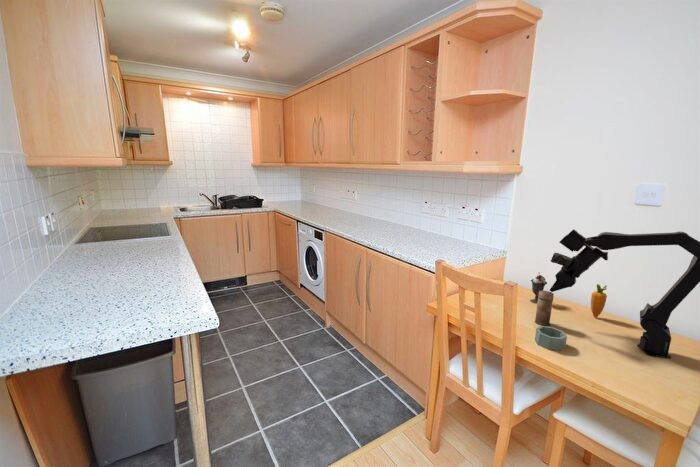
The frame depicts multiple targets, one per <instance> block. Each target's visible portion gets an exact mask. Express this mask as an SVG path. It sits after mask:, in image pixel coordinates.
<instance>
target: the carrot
mask: <svg viewBox="0 0 700 467" xmlns="http://www.w3.org/2000/svg"><path fill="white" fill-rule="evenodd" d="M607 287H608V285H604V286H603V287H602V288H601V285H600V284H599V283H596V290H594V291H592V292H591V298H590V309H591V313H592V316H593V317H594V318H595V319H596V318H598V317H599V316H600V315H601V313H602V312H603V311H604V308H605V306H606V303H607V297H608V295H607V294H606V293H605V292H604V291H606V290H607Z"/></svg>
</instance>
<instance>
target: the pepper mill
mask: <svg viewBox="0 0 700 467" xmlns="http://www.w3.org/2000/svg"><path fill="white" fill-rule="evenodd" d="M554 297H555V296H554V292H551V291H550V290H549V291H548V290H543V291H539V295H538V303H537V304H536V311H535V318H534V323H535V324H536V325H539V326H547V327H550V322H551V317H552V316H551V315H552V309H553V302H554Z"/></svg>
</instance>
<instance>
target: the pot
mask: <svg viewBox="0 0 700 467" xmlns="http://www.w3.org/2000/svg"><path fill="white" fill-rule="evenodd" d="M534 334H535V335H534V341H535V343H536V345H537V346H540V347H542V348H544V349H545V350H546V349H547V350H549V351H558V352H562V351H563V350H565V349H566V346H567V339H568V336H567V334H566V333H565V332H564V331H563V330H561V329H558V328H556V327H553V326H541V325H539V326H537V327H535V333H534Z"/></svg>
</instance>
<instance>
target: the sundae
mask: <svg viewBox="0 0 700 467" xmlns="http://www.w3.org/2000/svg"><path fill="white" fill-rule="evenodd" d="M530 282H531V288H532V289H531V290H532V293H533V294H534V295H535V297H534V298H533V299H532V298H531V299H530V300H529V301H530V302H531V303H533V304H536V305H537V303H538V295H539V291H544V288H545V286H546V285H547V284H548V282H547V281H546V278H545V277H544V276H543V275H541V274H540V272H538V275H537V276H535V278H532V279H531V280H530Z"/></svg>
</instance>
